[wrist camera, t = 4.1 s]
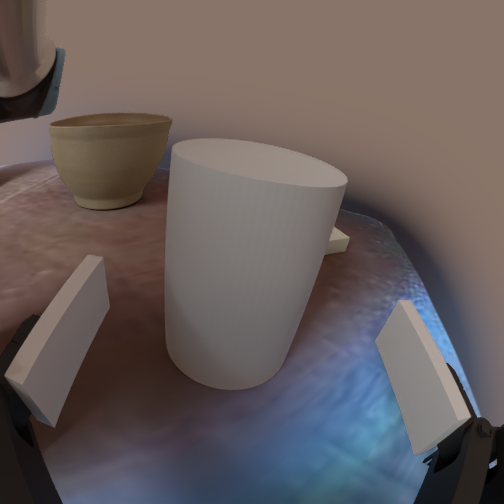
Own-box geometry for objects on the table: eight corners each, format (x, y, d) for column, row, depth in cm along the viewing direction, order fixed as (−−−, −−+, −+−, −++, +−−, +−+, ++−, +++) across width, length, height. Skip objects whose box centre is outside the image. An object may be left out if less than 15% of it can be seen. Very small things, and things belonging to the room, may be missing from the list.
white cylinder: (256, 294, 24) (290, 146, 18) (307, 370, 18) (383, 193, 12) (156, 307, 20) (161, 135, 14) (184, 402, 14) (196, 182, 8)
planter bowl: (135, 174, 45) (140, 110, 40) (188, 207, 36) (198, 122, 31) (44, 191, 34) (42, 119, 29) (65, 236, 26) (59, 131, 20)
